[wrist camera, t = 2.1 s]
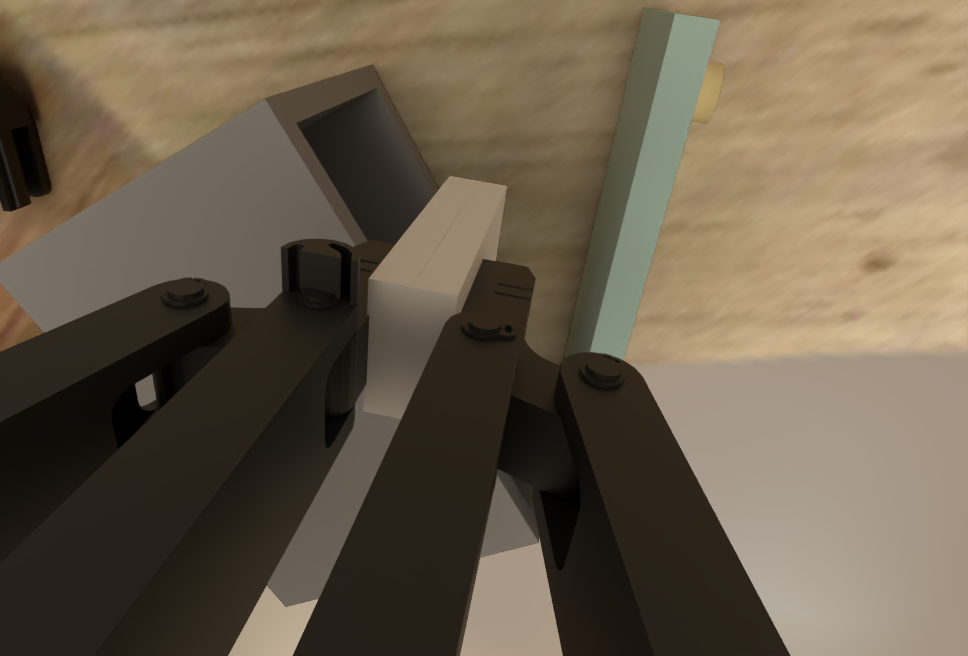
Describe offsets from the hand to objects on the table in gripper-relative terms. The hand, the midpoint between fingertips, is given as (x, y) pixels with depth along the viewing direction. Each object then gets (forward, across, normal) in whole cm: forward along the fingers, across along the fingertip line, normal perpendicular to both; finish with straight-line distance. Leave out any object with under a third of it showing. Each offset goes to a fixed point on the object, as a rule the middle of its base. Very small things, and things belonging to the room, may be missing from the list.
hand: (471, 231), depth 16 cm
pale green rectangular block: (+14, +5, -5) cm, 16 cm away
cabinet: (+15, -8, -11) cm, 19 cm away
